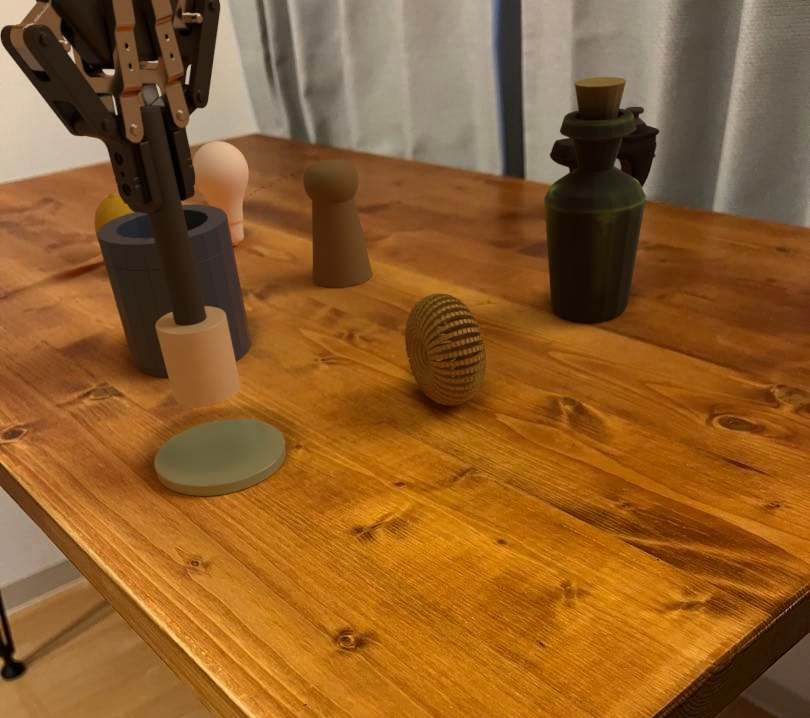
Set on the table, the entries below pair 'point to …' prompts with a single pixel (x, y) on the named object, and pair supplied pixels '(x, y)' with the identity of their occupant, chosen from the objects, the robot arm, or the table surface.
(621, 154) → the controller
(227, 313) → the jar
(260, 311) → the table surface
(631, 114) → the potion bottle
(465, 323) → the sculpture
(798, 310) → the table surface
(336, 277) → the cork
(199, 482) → the coaster
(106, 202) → the lemon
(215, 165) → the lightbulb
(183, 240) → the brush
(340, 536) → the table surface
